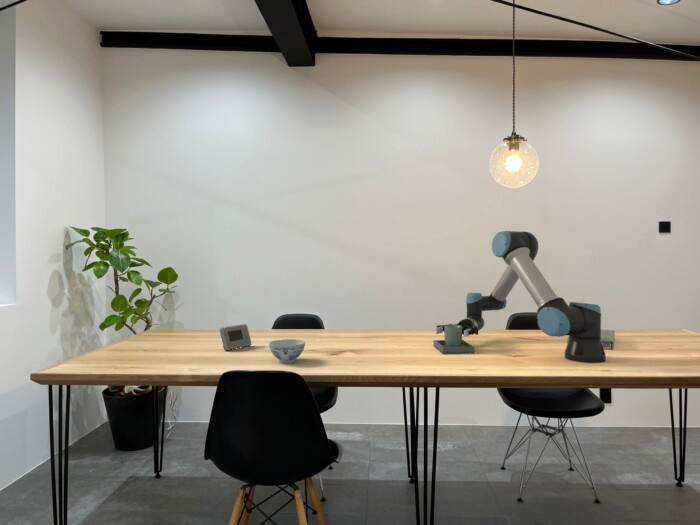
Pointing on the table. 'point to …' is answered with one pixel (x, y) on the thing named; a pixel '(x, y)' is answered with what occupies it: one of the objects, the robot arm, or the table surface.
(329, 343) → the table surface
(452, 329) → the cup
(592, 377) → the table surface
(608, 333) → the power supply unit
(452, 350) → the tray
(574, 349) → the robot arm
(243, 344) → the digital clock
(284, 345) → the chinaware
